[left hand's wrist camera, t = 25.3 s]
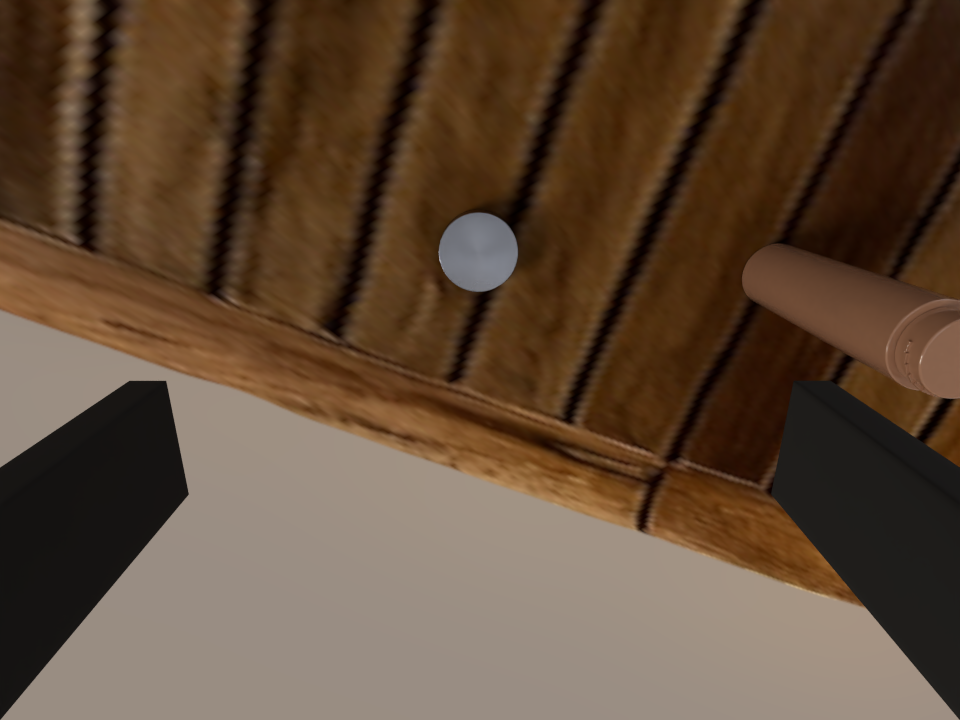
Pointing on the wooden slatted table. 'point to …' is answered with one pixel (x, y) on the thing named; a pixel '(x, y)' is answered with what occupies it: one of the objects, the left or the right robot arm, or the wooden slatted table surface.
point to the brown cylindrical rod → (863, 315)
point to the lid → (478, 250)
